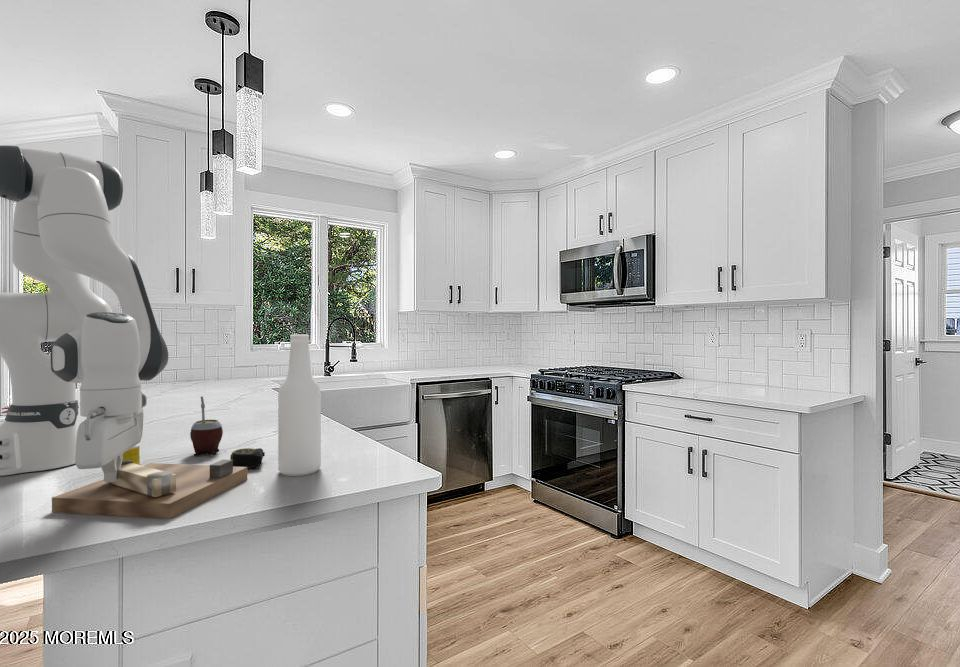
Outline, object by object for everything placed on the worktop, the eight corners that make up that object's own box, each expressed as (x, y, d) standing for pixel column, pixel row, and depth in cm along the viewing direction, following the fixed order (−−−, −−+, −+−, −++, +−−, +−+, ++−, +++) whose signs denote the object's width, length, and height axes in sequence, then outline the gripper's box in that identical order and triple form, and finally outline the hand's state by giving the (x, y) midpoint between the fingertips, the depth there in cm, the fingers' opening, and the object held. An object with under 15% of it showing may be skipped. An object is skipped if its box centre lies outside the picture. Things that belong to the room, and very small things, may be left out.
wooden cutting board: (51, 512, 87) (51, 482, 86) (151, 474, 108) (151, 451, 108) (169, 518, 84) (169, 488, 84) (247, 479, 106) (247, 455, 105)
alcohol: (280, 479, 106) (280, 334, 105) (276, 468, 113) (275, 334, 113) (324, 473, 110) (324, 334, 109) (317, 463, 117) (316, 334, 117)
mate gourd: (211, 448, 131) (211, 390, 131) (230, 452, 127) (230, 393, 127) (182, 455, 125) (182, 394, 125) (201, 459, 121) (201, 396, 121)
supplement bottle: (144, 473, 109) (144, 434, 109) (121, 479, 105) (121, 439, 105) (130, 471, 111) (130, 432, 111) (107, 476, 107) (107, 436, 107)
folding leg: (177, 491, 89) (177, 473, 89) (154, 497, 86) (154, 478, 86) (127, 476, 97) (127, 460, 97) (104, 482, 94) (104, 464, 94)
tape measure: (261, 470, 113) (261, 453, 113) (227, 472, 111) (227, 455, 111) (264, 462, 119) (264, 446, 119) (232, 464, 117) (232, 448, 117)
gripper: (109, 411, 81) (110, 497, 82) (149, 395, 101) (150, 464, 101) (62, 413, 80) (63, 501, 80) (112, 397, 99) (113, 467, 99)
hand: (112, 480), depth 91 cm, fingers closed
